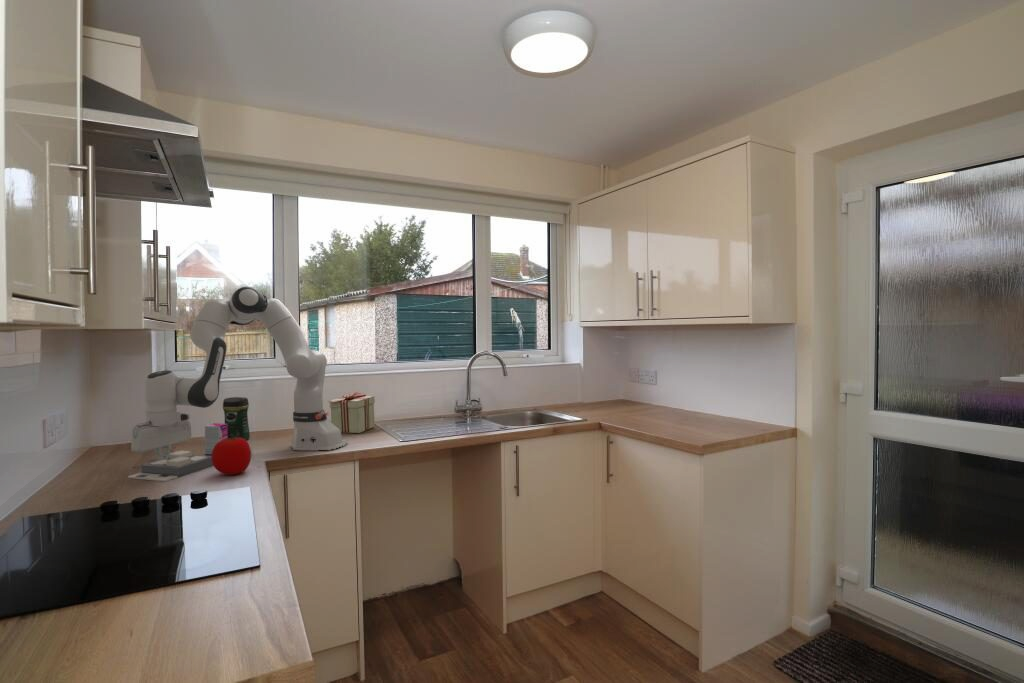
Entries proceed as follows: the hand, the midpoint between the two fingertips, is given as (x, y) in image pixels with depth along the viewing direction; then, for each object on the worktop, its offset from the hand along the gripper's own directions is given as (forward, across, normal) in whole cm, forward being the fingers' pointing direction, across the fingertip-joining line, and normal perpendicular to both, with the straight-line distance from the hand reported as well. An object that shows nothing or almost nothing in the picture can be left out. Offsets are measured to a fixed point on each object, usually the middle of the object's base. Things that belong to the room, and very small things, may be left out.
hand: (163, 459), depth 178 cm
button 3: (+2, +7, 0) cm, 7 cm away
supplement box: (+5, +24, +1) cm, 24 cm away
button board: (+4, +1, -3) cm, 5 cm away
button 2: (+2, 0, -7) cm, 7 cm away
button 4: (+4, +7, -7) cm, 10 cm away
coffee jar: (+5, +44, +11) cm, 46 cm away
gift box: (+5, +74, -26) cm, 79 cm away
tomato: (+5, +3, -25) cm, 26 cm away
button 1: (+4, 0, 0) cm, 4 cm away
